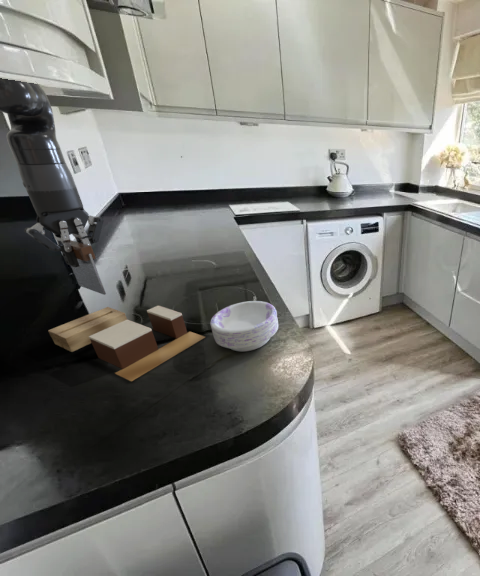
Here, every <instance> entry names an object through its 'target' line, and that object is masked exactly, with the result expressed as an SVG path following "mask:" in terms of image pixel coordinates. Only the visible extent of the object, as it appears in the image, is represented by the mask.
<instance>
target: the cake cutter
mask: <svg viewBox="0 0 480 576" xmlns="http://www.w3.org/2000/svg"><path fill="white" fill-rule="evenodd" d="M70 240H71V241H70V244H71V247H72V251H74V253H75V256H76V258H77V261H78V263H79V267H72V266H71V265H70V267H71V269H72V272H73V274H74V277H75V279H76V281H77V284H78V286H79V287H81V288H85V289H86V290H87V289H88V290H90V291H93V292H95V293H98V294H101V295H106V294H107V293H106V291H105V288H104V285H103V282H102V279H101V277H100V274H99V271H98V269H97V266H96V264H95V261H94V260H95V259H96V254H95V252H94V250H93V247H92V245H91V246H89V245H86V244H82V243H79V242H77V241H76V240H72V239H70ZM93 259H94V260H93Z"/></svg>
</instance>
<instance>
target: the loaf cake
mask: <svg viewBox="0 0 480 576" xmlns="http://www.w3.org/2000/svg"><path fill="white" fill-rule="evenodd" d="M89 338H90V340H91V343H90V344H91V345H92V347H93V350H94V352H95V353H96V356H97V358H98V359H100V360H102V361H104V362H106V363H109V364H111V365H113V366H115V367H117V368H119V369H120V370H121V369H124V368H126V367H128V366H130V365H131V364H133V363H135V362H137V361H139V360H140V359H142V358H144V357H146V356H148V355H149V354H151V353H153V352H155V351H157V350H158V349H159V346H158V343H157V341H156V338H155V336H154V332H153V328H151V327H148V326H145V325H143V324H141V323H138V322H136V321H132V320H129V319H127V320H125V321H123V322H120V323H118V324H116V325H114V326H111V327H109V328H107V329H104V330H102V331H100V332H98V333H95V334H93V335H91V336H89Z"/></svg>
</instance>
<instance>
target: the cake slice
mask: <svg viewBox="0 0 480 576" xmlns="http://www.w3.org/2000/svg"><path fill="white" fill-rule="evenodd" d="M146 313H147V316H148V318H149V321H150V324H151V327H152V331H155V332H157V333H161V334H163V335H166V336H168V337H171V338H174V339H177V338H179V337H181V336H183V335H185V334H186V333H188V330H187V327H186V323H185V320H184V317H183V314H182V312H179V311H176V310H174V309H171V308H168V307H164V306H161V305H156V306H153V307H151V308H149V309H147V310H146Z"/></svg>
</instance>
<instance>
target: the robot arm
mask: <svg viewBox="0 0 480 576" xmlns="http://www.w3.org/2000/svg"><path fill="white" fill-rule="evenodd" d="M0 112H1V113H4V114H7V117H8V122H9V126H10V130H9V131H8V132H7V133H6V140H7V144H8V146H9V149H10V151H11V153H12V156H13V158H14V161H15V163H16V165H17V168H18V172H19V177H20V178H21V181H22V186H23V187H24V189H25V190H26V192H27V196H28V197H29V199H30V202H31V204H32V207H33V209H34V211H35V213H36V223H35V224H34V225H32V226H31V227H25V228H24V229H23V232H24V233H25V234H26V235H28V236H29V237H31V238H32V239H34V240H35V241H36V242H38V243H39V244H41V245H42V246H43V247H44V248H46V249H47V250H50V251H53V252H60V253H61V254H62V256H63V259H64V262H65V263H66V265H68V266H70V267H71V266H72V267H79V263H78V261H77V258H76V256H75V253H74V251H72V247H71V244H70V241H71V240H72V239H71V235H72V236H73V238H75V241H76V242H79V243H82V244H86V245H89V246H91V247H92V245H93V244H98V242H99V240H100V237H101V234H102V229H103V225H104V221H105V220H104V218H103V217H101V216H94V215H90V214H89V213H88V212H87V211H86V210H85V208H84V204H83V202H82V198H81V196H80V193H79V190H78V187H77V185H76V182H75V180H74V177H73V174H72V172H71V169H70V168H69V167H68V165H67V162H66V159H65V157H64V154H63V151H62V148H61V146H60V144H59V142H58V139H57V131H56V130H57V129H56V124H55V118H54V113H53V109H52V105H51V102H50V99H49V98H48V96H47V94H46V92H45V90H44V89H43V88H42V86H40V84H38V83H37V84H34V83H27V82H21V81H15V80H8V79H2V78H0ZM87 223H88V225H89V226H88V229H87V232H86V230H85V228H86V225H87ZM44 229H46V230H47V231H48V232H50V233H53V238H54V240H55V241H56V243H57V244H56V243H55V242H54V241H53V240H51V239H50V238H48V237H47V236H46V235H45V234H46V231H45V230H44ZM94 260H95V259H93V261H94ZM72 267H71V268H72Z"/></svg>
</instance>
